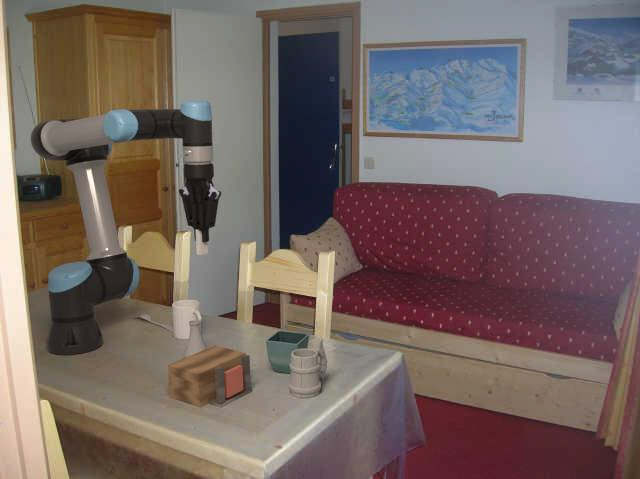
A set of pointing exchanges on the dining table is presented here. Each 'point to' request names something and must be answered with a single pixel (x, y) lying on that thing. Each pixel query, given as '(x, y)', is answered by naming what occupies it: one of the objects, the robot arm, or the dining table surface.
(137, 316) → the fork
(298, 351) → the mug
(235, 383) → the block
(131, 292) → the robot arm
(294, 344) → the flower pot
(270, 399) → the dining table surface
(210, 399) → the block
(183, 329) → the mug
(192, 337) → the flask
